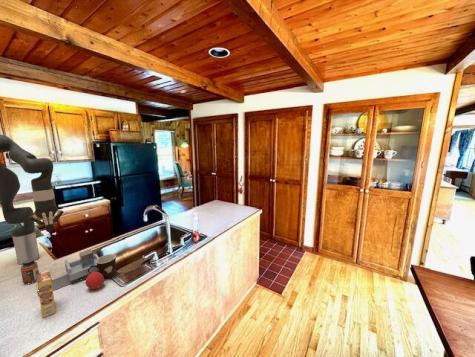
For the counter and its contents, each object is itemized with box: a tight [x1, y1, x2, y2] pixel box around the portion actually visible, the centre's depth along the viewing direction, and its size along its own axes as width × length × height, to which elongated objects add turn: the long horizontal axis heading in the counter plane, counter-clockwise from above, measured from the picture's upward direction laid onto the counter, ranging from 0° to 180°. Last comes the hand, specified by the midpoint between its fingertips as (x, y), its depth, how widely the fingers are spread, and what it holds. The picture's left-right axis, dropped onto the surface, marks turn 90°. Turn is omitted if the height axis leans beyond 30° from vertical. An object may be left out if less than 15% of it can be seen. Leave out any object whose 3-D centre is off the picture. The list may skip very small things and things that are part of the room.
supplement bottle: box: [20, 259, 40, 285], centre depth 99 cm, size 6×6×11 cm
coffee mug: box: [88, 253, 117, 281], centre depth 102 cm, size 12×9×10 cm
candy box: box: [36, 269, 56, 319], centre depth 81 cm, size 9×4×15 cm, turn 47°
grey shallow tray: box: [64, 253, 100, 283], centre depth 106 cm, size 14×14×8 cm
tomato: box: [84, 272, 105, 290], centre depth 95 cm, size 8×8×8 cm
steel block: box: [78, 249, 94, 269], centre depth 106 cm, size 5×5×8 cm
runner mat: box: [36, 271, 97, 298], centre depth 102 cm, size 11×26×1 cm, turn 138°
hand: (50, 230), depth 100 cm, fingers closed
